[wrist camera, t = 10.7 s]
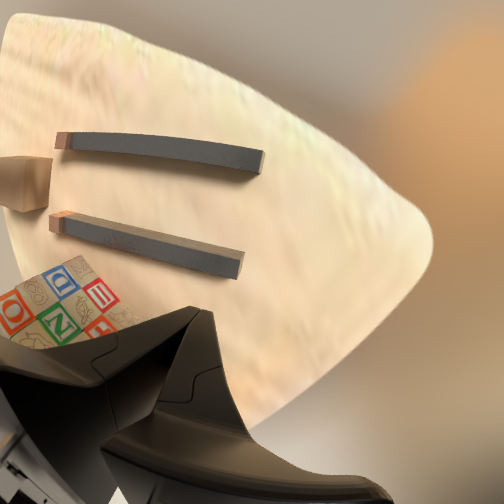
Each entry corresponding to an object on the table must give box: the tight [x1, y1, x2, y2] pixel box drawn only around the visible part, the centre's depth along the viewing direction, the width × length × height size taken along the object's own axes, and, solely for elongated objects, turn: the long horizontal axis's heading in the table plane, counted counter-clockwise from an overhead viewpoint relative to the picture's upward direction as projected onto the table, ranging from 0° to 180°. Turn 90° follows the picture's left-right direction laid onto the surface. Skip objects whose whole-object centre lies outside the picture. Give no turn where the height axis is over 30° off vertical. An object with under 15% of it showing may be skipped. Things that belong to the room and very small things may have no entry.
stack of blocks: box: [0, 255, 140, 349], centre depth 19 cm, size 21×6×12 cm, turn 44°
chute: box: [49, 132, 265, 280], centre depth 19 cm, size 9×18×2 cm, turn 79°
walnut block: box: [0, 156, 53, 213], centre depth 20 cm, size 5×6×4 cm
